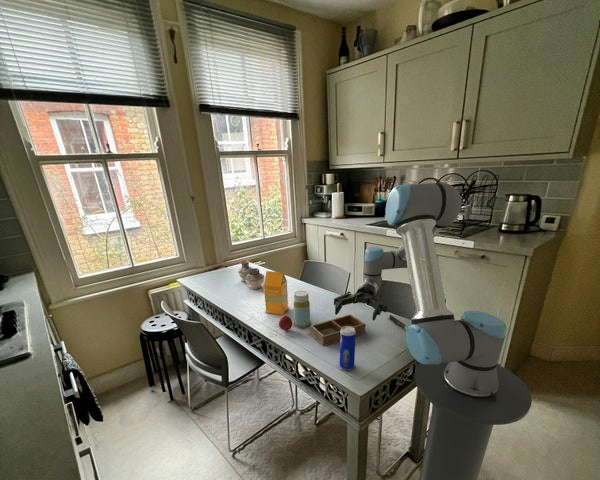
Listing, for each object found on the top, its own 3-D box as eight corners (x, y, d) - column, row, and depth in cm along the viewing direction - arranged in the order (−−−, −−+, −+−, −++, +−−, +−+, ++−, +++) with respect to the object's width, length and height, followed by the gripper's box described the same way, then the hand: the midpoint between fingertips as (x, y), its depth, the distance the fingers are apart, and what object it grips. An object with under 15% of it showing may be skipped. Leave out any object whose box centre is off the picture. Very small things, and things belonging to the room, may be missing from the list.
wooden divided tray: (365, 332, 133) (365, 324, 131) (323, 345, 125) (323, 336, 123) (350, 322, 141) (350, 314, 140) (310, 334, 133) (310, 325, 132)
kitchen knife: (388, 318, 143) (389, 315, 142) (390, 318, 143) (391, 314, 143) (415, 337, 128) (416, 333, 127) (417, 337, 128) (418, 333, 127)
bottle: (292, 327, 139) (291, 295, 133) (296, 319, 145) (295, 289, 139) (308, 328, 138) (307, 297, 131) (311, 321, 144) (310, 290, 138)
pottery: (252, 276, 202) (250, 258, 197) (268, 288, 183) (266, 268, 178) (235, 279, 197) (232, 261, 192) (250, 292, 178) (247, 272, 173)
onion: (295, 329, 137) (294, 313, 134) (288, 335, 133) (287, 318, 129) (284, 326, 140) (283, 310, 137) (276, 332, 136) (275, 315, 132)
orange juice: (282, 314, 151) (280, 275, 142) (265, 312, 153) (262, 273, 145) (288, 307, 157) (286, 269, 149) (272, 305, 160) (269, 268, 152)
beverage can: (336, 366, 112) (337, 329, 106) (345, 360, 115) (346, 324, 109) (348, 372, 109) (349, 334, 102) (357, 366, 112) (358, 329, 106)
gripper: (397, 304, 127) (389, 329, 109) (337, 296, 136) (321, 318, 118) (399, 286, 124) (391, 309, 106) (338, 280, 133) (321, 299, 115)
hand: (354, 314), depth 112 cm, fingers open, 13 cm apart
